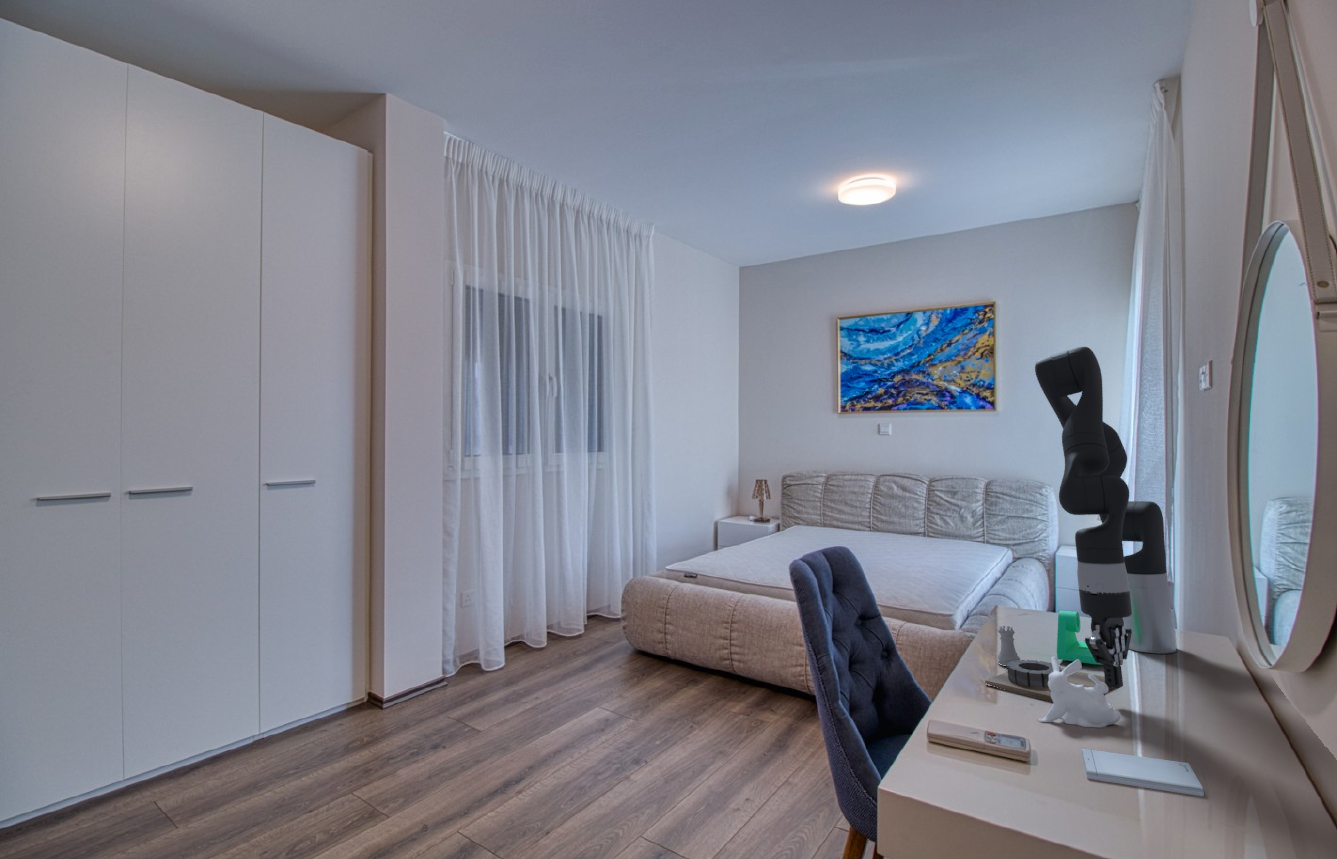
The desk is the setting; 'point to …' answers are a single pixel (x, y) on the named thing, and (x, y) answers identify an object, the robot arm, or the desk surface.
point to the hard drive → (1141, 772)
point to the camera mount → (1071, 639)
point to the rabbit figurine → (1078, 699)
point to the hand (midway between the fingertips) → (1114, 686)
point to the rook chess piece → (1007, 646)
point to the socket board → (1041, 691)
